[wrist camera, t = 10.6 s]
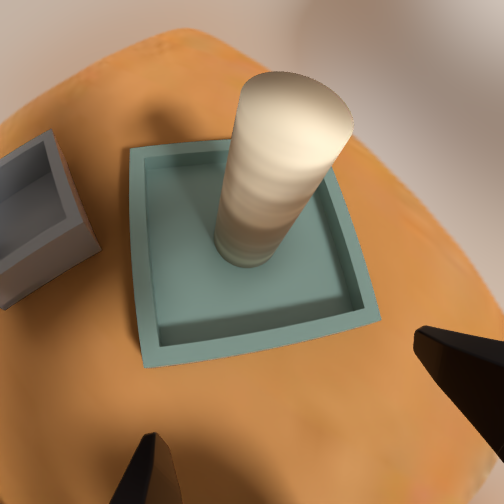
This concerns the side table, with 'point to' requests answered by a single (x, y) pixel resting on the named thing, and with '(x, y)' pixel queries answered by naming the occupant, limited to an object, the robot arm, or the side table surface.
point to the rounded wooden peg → (276, 161)
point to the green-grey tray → (227, 275)
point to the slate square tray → (39, 219)
